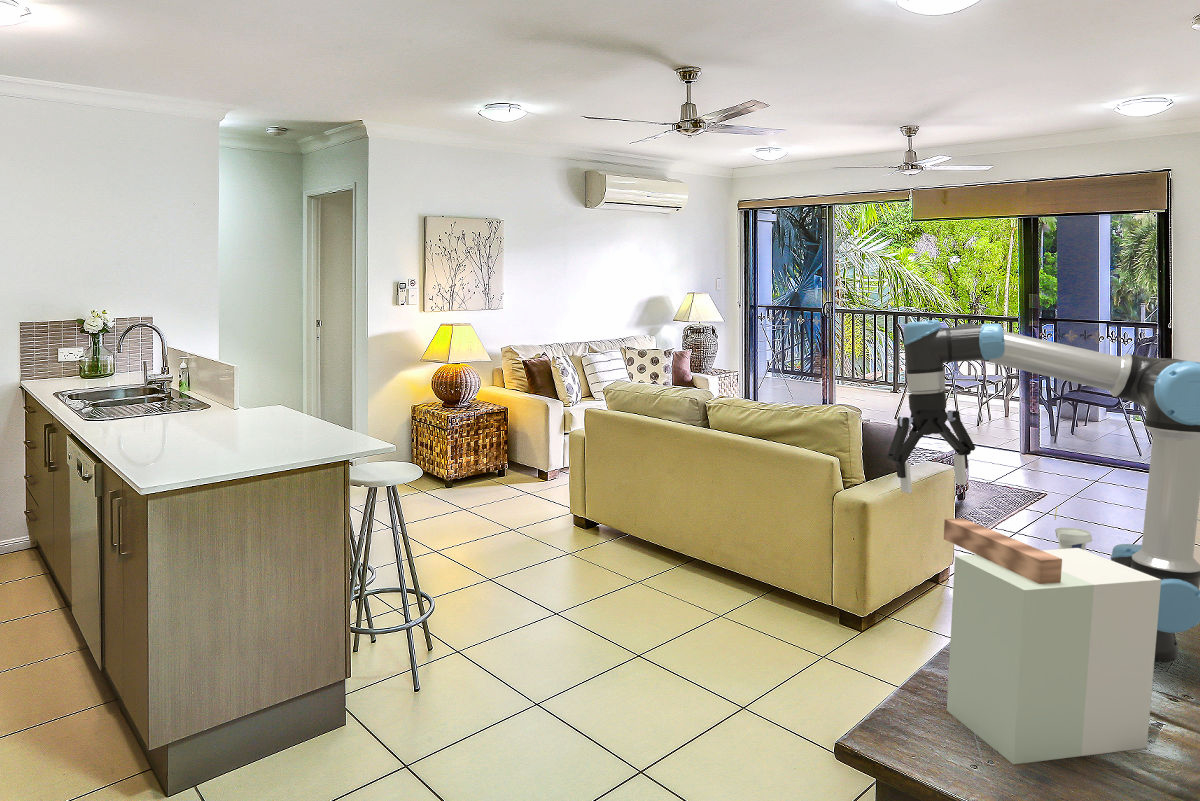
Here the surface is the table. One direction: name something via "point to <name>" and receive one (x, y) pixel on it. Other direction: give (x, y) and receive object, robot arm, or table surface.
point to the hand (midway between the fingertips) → (934, 488)
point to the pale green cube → (1053, 657)
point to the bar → (1004, 551)
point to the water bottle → (1072, 537)
